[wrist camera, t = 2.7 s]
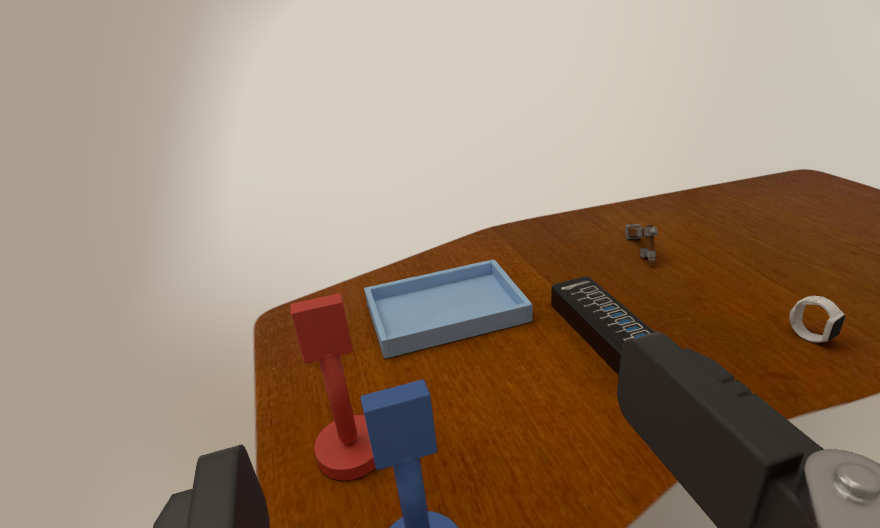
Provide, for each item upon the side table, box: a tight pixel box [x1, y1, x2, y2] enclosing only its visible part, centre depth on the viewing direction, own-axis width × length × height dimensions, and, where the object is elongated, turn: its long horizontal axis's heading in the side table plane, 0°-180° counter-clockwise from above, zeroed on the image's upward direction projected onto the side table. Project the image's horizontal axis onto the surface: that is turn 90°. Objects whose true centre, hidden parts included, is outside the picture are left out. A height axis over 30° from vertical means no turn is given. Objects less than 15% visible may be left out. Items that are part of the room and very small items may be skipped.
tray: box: [364, 260, 532, 358], centre depth 54 cm, size 15×10×2 cm
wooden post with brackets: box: [626, 224, 657, 264], centre depth 61 cm, size 2×8×4 cm, turn 177°
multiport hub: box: [551, 277, 654, 375], centre depth 48 cm, size 4×14×2 cm, turn 18°
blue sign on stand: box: [361, 380, 458, 528], centre depth 28 cm, size 5×5×14 cm
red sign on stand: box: [290, 293, 376, 481], centre depth 36 cm, size 5×5×14 cm
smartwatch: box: [790, 296, 845, 343], centre depth 45 cm, size 4×2×4 cm, turn 31°
